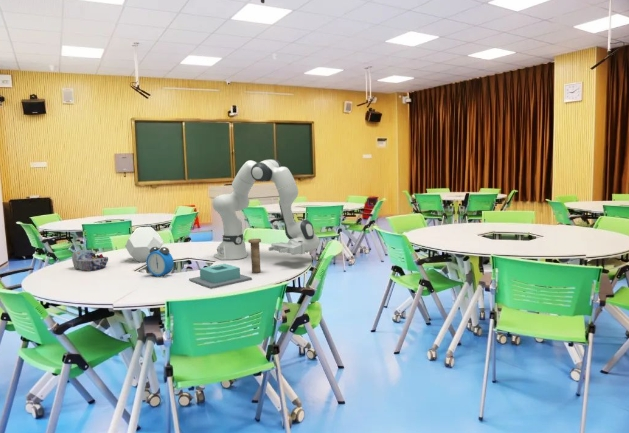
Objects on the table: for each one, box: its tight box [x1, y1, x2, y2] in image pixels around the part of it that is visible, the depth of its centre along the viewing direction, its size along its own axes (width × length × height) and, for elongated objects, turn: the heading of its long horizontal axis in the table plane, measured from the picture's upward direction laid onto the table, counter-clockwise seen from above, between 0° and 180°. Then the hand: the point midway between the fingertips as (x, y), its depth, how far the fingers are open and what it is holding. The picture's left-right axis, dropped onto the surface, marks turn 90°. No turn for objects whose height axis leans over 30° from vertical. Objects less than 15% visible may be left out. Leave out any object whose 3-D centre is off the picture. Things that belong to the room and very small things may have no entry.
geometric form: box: [124, 226, 165, 263], centre depth 276 cm, size 20×20×20 cm
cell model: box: [71, 249, 109, 272], centre depth 258 cm, size 13×11×20 cm
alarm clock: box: [146, 246, 175, 278], centre depth 235 cm, size 13×6×15 cm, turn 67°
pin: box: [248, 238, 262, 274], centre depth 234 cm, size 6×6×17 cm
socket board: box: [188, 263, 253, 290], centre depth 221 cm, size 22×22×6 cm
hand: (274, 250), depth 241 cm, fingers open, 8 cm apart
